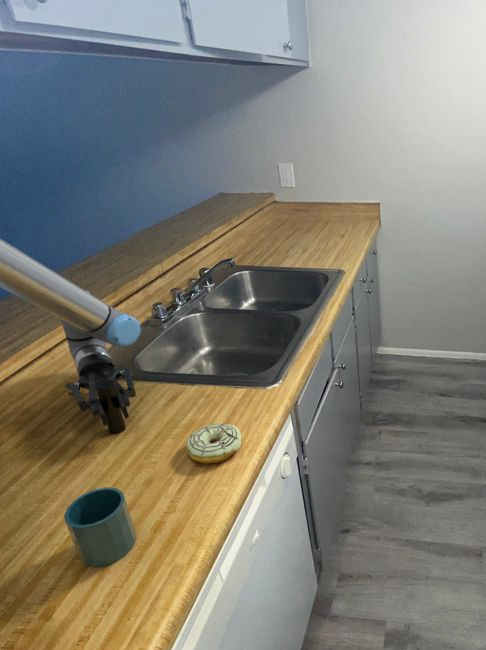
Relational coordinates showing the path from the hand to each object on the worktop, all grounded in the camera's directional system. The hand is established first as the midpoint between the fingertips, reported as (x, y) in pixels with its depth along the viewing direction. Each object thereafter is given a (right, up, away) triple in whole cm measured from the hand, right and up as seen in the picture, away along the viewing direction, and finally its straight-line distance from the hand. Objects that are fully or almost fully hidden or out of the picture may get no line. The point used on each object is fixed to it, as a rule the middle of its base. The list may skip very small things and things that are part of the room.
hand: (115, 416), depth 97 cm
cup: (+11, -18, -19) cm, 28 cm away
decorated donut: (+20, -8, +3) cm, 21 cm away
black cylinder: (-4, -4, +7) cm, 9 cm away
